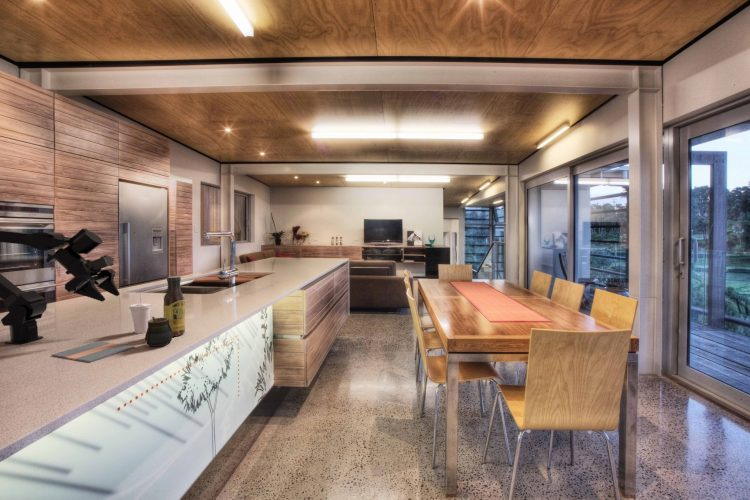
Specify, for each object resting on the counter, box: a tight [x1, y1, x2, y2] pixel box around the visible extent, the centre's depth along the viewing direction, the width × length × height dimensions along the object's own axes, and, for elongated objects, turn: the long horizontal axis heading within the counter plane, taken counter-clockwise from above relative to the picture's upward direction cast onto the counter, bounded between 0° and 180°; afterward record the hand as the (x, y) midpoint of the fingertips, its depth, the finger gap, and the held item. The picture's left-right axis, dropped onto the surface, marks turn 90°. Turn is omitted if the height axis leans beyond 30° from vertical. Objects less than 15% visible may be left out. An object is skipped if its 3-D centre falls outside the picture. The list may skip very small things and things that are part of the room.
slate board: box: [51, 340, 136, 364], centre depth 99 cm, size 16×12×1 cm
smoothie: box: [129, 292, 152, 335], centre depth 117 cm, size 6×6×14 cm
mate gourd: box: [144, 316, 174, 348], centre depth 104 cm, size 7×8×10 cm
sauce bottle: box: [163, 275, 186, 337], centre depth 114 cm, size 6×6×20 cm
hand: (111, 297), depth 114 cm, fingers open, 9 cm apart
